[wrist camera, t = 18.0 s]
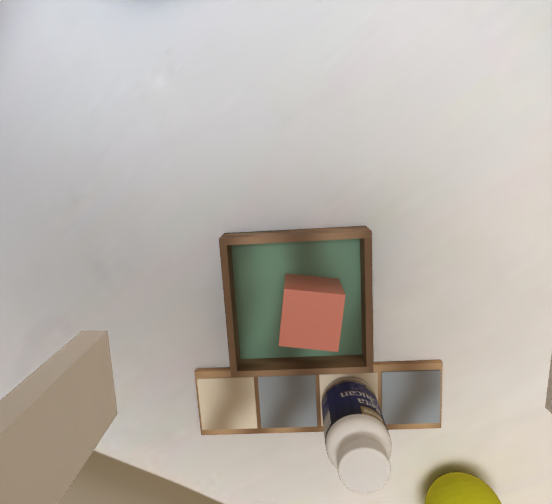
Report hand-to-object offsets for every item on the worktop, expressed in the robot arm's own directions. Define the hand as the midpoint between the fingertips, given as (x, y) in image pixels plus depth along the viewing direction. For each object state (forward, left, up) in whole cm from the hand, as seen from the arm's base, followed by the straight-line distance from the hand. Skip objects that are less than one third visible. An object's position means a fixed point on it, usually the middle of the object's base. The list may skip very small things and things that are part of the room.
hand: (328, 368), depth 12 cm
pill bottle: (+4, -17, -26) cm, 32 cm away
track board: (+1, -17, -27) cm, 32 cm away
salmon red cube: (-2, -6, -24) cm, 25 cm away
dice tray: (-1, -6, -27) cm, 28 cm away
